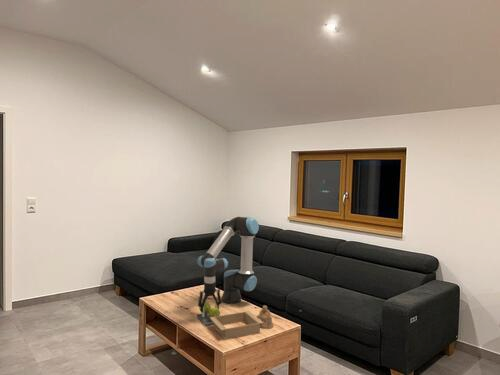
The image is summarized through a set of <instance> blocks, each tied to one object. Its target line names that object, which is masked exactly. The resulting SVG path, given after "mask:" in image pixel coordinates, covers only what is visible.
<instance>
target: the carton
mask: <svg viewBox="0 0 500 375" xmlns="http://www.w3.org/2000/svg"><path fill="white" fill-rule="evenodd" d="M210 319H211V320H212V321H213V325H212V327H213V328H215V330H217V332H218V333H219V334H220V335H221V336H222V337H223V338H224V339H225V340H230V339H234V338H240V337H245V336H251V335H256V334H260V333H261V328H260V324H261V323H263V322H262V321H261V320H260V319H258V318H257V315H255V314H253V313H252V312H251V311H248V310H246V311H241V312H235V313H227V314H222V315H219V316H216V317H210ZM241 322H246V323H247V324H245V325H240V326H239V325H238V326H233V327H229V328H226V327H225V326H224V325H229V324H231V325H232V324H235V323H236V324H237V323H241Z"/></svg>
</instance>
